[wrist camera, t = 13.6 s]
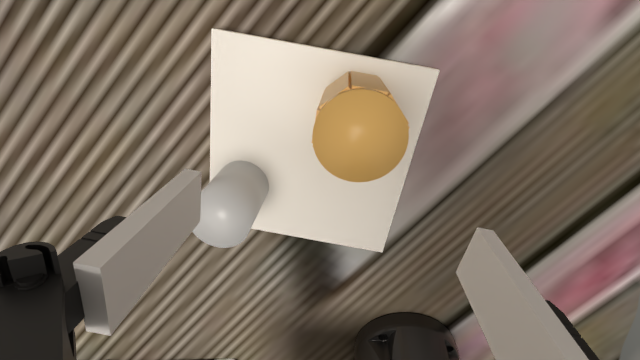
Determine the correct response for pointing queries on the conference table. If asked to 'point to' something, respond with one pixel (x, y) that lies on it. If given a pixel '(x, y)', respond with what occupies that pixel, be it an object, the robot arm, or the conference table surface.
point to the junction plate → (295, 144)
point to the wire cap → (359, 128)
